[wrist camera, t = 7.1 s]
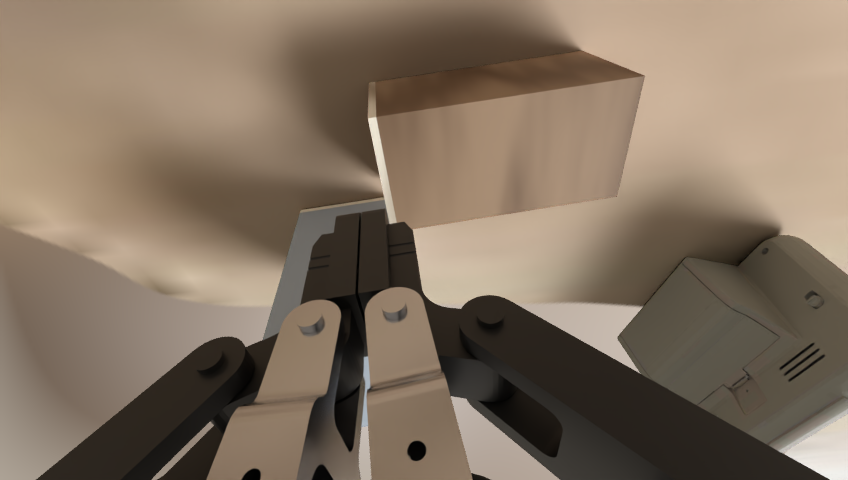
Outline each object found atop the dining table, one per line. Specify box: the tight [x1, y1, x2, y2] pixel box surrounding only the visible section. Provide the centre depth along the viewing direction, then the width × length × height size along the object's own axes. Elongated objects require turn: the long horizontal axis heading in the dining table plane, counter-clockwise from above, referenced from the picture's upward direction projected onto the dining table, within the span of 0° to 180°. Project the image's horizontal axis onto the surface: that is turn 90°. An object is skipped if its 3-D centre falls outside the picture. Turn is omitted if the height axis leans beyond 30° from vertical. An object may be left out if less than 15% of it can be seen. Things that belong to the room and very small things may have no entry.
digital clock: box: [618, 235, 848, 453], centre depth 25 cm, size 16×9×11 cm, turn 153°
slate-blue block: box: [263, 197, 390, 427], centre depth 18 cm, size 5×5×10 cm
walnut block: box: [368, 51, 645, 229], centre depth 17 cm, size 5×5×10 cm
